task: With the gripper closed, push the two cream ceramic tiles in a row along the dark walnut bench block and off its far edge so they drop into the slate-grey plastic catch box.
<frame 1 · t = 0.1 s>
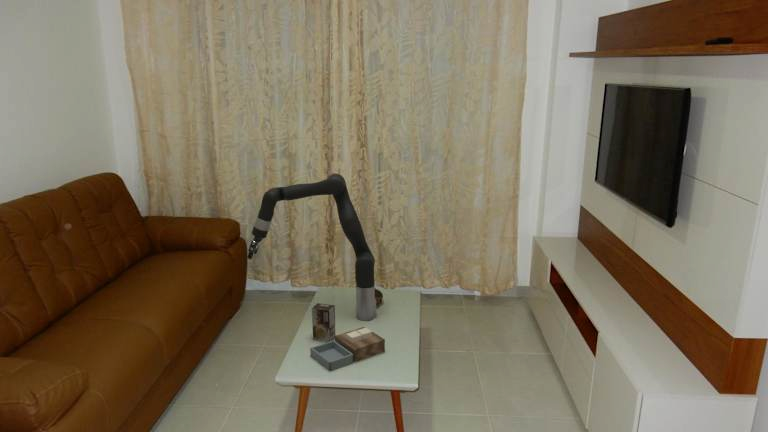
hand: (251, 255, 281), 31 cm above the table, tool tilted 20°, fingers open, 8 cm apart
coffee box: (324, 339, 263), on the table
decorative turtle: (374, 303, 304), on the table
bench block: (359, 349, 252), on the table
front tile: (353, 339, 249), point 6 cm above the table, touching bench block
catch box: (331, 359, 244), on the table
rear tile: (364, 336, 252), point 6 cm above the table, touching bench block
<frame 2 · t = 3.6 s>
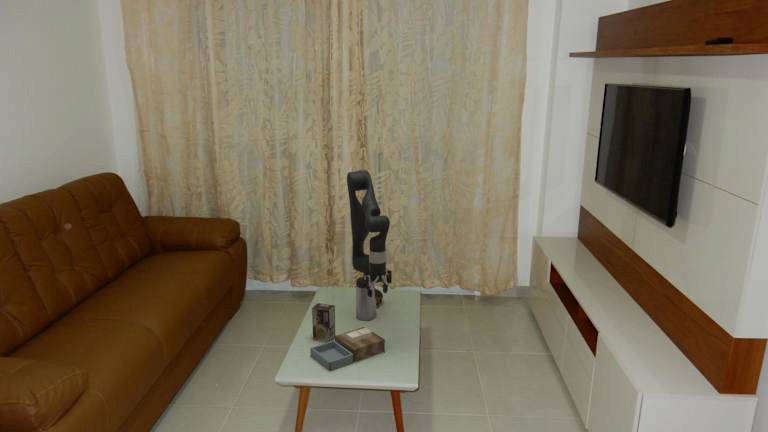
hand: (377, 294, 252), 24 cm above the table, tool pointing down, fingers open, 7 cm apart
nothing on the table moved.
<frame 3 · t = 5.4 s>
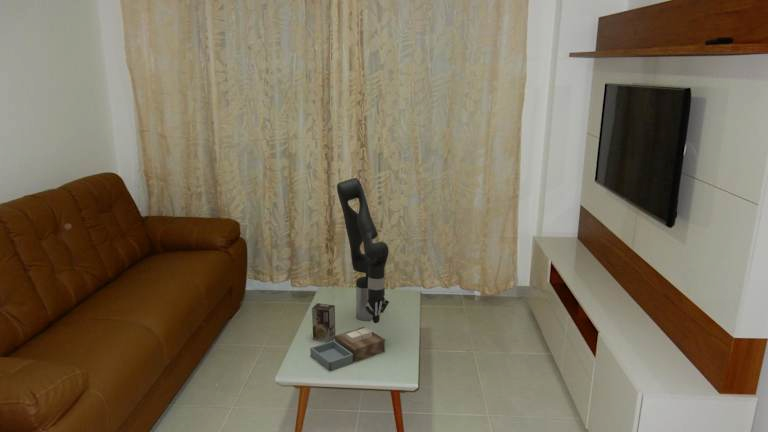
hand: (376, 322, 255), 11 cm above the table, tool pointing down, fingers closed
nothing on the table moved.
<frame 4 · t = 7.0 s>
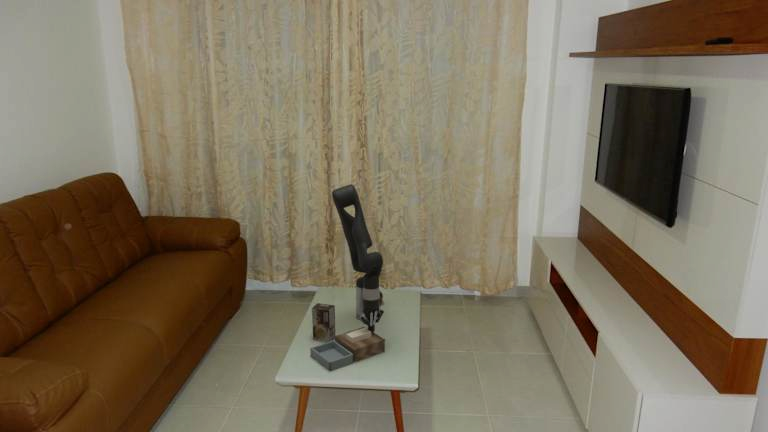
hand: (371, 332, 254), 7 cm above the table, tool pointing down, fingers closed
rear tile: (363, 336, 252), point 6 cm above the table, touching bench block, gripper
everything else where it was.
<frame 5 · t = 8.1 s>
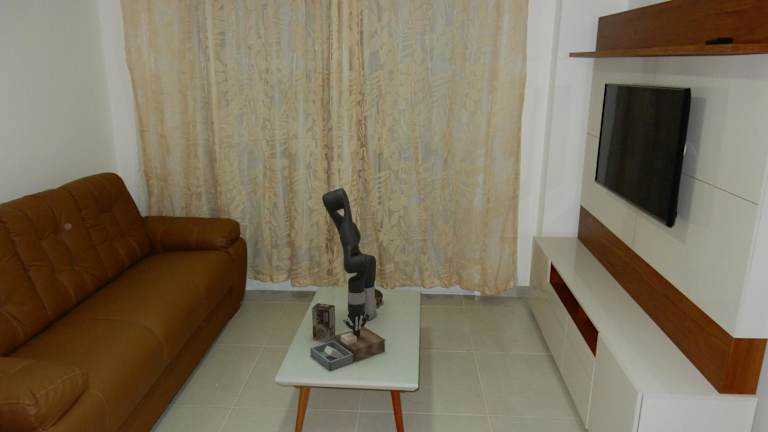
hand: (356, 336, 249), 7 cm above the table, tool pointing down, fingers closed
front tile: (334, 349, 244), point 4 cm above the table, tilted 145°, touching catch box
rear tile: (348, 341, 247), point 6 cm above the table, touching bench block, gripper
everything else where it was.
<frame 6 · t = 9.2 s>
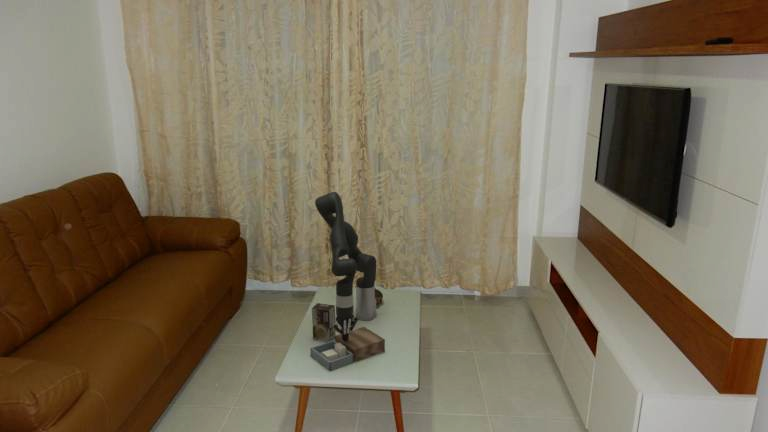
hand: (345, 340, 246), 7 cm above the table, tool pointing down, fingers closed
front tile: (329, 352, 243), point 3 cm above the table, tilted 180°, touching catch box
rear tile: (342, 350, 245), point 3 cm above the table, tilted 90°, touching catch box
everything else where it was.
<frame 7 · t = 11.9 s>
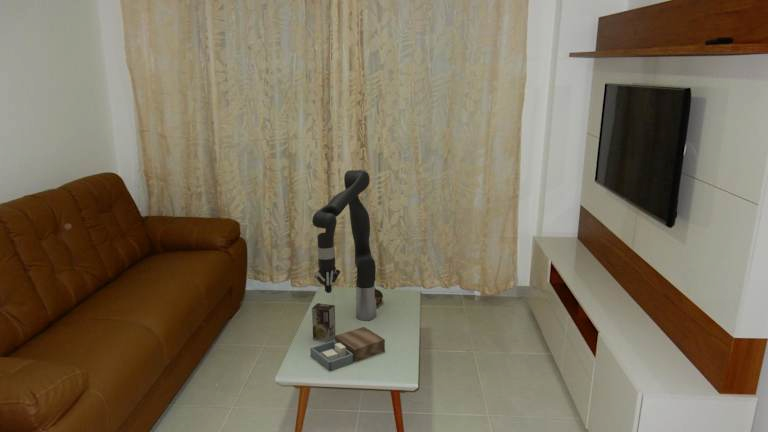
hand: (328, 292, 256), 24 cm above the table, tool pointing down, fingers closed
nothing on the table moved.
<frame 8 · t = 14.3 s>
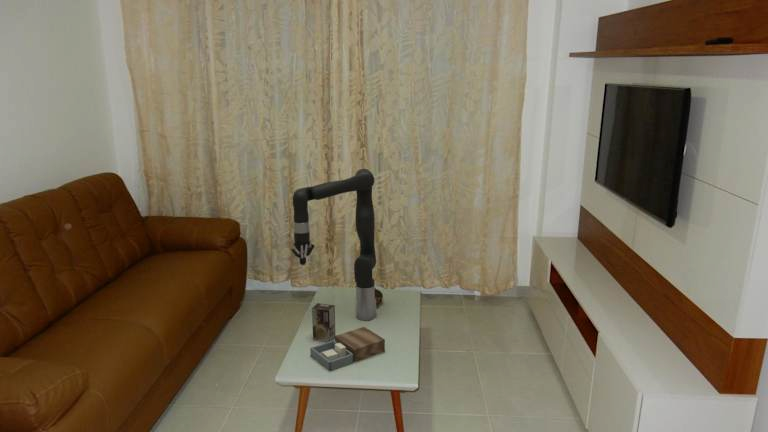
hand: (302, 264, 276), 29 cm above the table, tool pointing down, fingers closed
nothing on the table moved.
at the end: front tile inside the target area on the catch box (0.9 cm from its centre), point 3.3 cm above the catch box's base; rear tile inside the target area on the catch box (5.1 cm from its centre), point 3.3 cm above the catch box's base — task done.
